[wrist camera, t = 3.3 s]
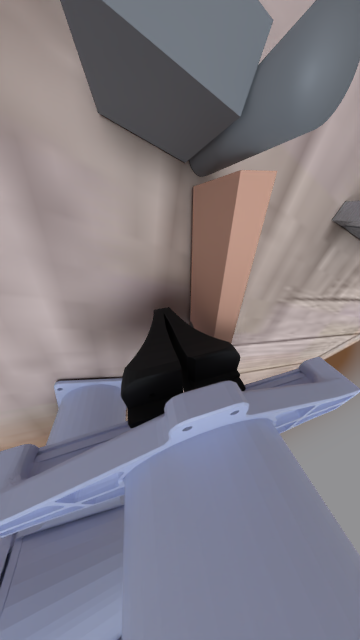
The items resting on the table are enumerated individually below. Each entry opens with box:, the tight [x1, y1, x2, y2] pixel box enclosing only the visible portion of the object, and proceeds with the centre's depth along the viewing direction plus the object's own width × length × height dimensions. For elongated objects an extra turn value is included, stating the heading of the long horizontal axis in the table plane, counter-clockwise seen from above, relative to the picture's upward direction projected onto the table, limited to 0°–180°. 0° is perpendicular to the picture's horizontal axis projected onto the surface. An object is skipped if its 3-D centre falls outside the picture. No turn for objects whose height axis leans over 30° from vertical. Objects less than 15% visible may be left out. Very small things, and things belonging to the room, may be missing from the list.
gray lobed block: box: [60, 0, 360, 177], centre depth 5 cm, size 2×6×7 cm, turn 72°
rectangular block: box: [190, 170, 277, 343], centre depth 11 cm, size 13×2×5 cm, turn 1°
